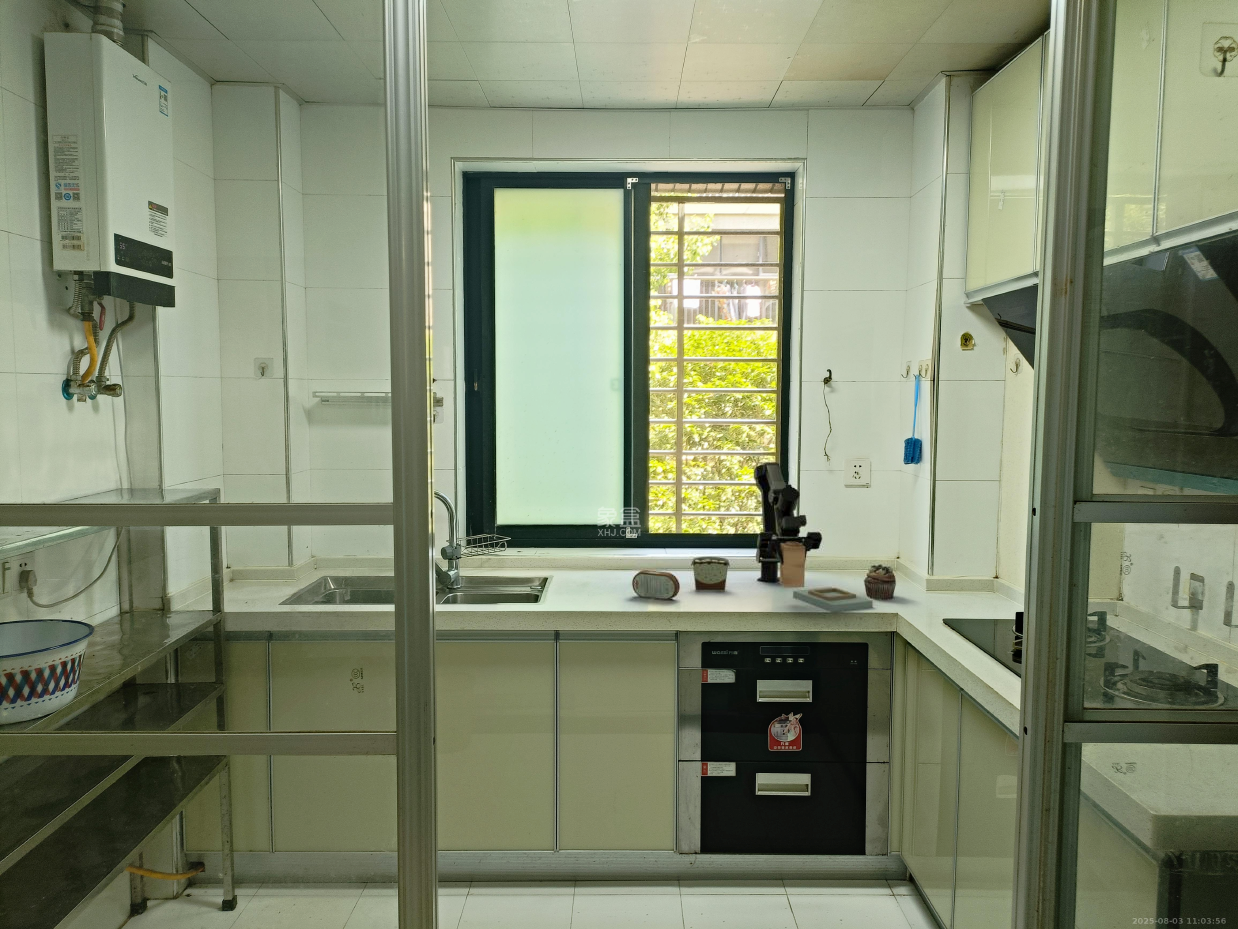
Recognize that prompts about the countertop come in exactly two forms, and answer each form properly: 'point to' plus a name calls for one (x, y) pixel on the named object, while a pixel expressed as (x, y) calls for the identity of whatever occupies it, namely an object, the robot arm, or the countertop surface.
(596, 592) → the countertop surface
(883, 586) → the cupcake
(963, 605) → the countertop surface
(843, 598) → the base slab
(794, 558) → the terracotta block
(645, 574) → the tin
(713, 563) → the food container
